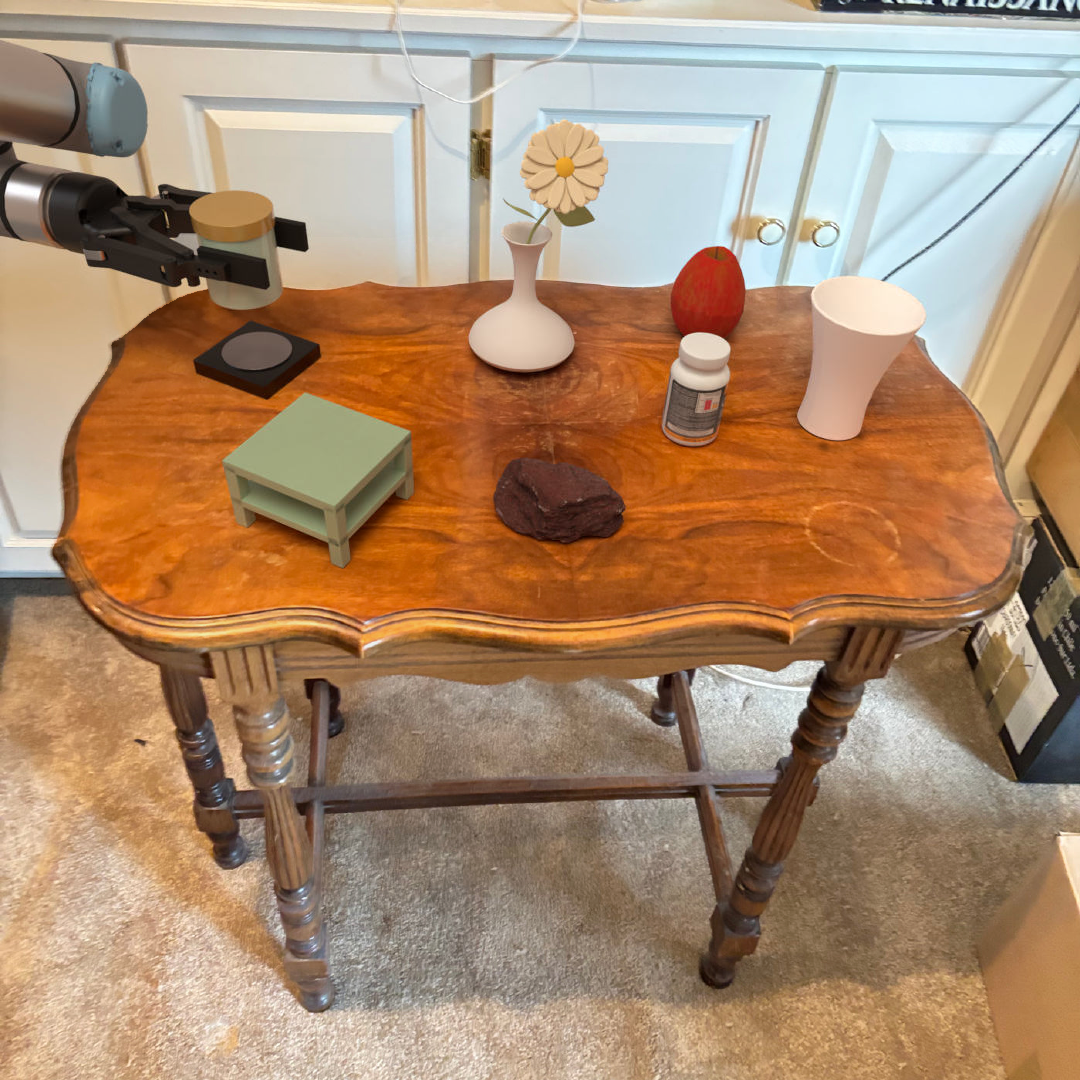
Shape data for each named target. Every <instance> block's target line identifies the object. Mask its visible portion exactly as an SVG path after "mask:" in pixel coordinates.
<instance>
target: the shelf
mask: <svg viewBox="0 0 1080 1080" xmlns="http://www.w3.org/2000/svg"><path fill="white" fill-rule="evenodd" d="M412 441H413V440H412V431H411V430H409V429H406V428H404V427H400V426H398V425H395V424H393V423H390V422H387V421H384V420H381V419H379V418H376V417H374V416H371V415H368V414H366V413H363V412H360V411H357V410H355V409H352V408H349V407H347V406H344V405H342V404H339V403H335V402H332V401H330V400H328V399H326V398H325V399H324V398H322V397H320V396H316V395H314V394H311V393H308V392H303V393H302V394H301V395H300V396H298V398H297V399H295V400H293V402H291V403H290V404H289V405H288V406H286V407H285V408H284V409H283V410H282V411H280V412H279V413H278V414H277V415H275V416H274V417H273V418H272V419H270V420H269V421H268V422H266V424H264V425H263V426H262V427H261V428H259V429H258V430H257V431H256V432H255V433H253V434H252V435H251V436H249V437H248V439H246V440H245V441H244V442H242V443H241V444H240V445H238V446H237V447H236V448H235V449H234V450H233V451H232V452H230V453H228V455H226V456H225V457H224V458H223V459H222V460H221V462H222V468H223V472H224V475H225V480H226V483H227V488H228V492H229V498H230V501H231V505H232V509H233V514H234V518H235V523H236V524H237V525H240V526H242V527H244V528H247V529H248V528H250V526H251V525H252V524H253V523H255V522H256V521H257V516H256V514H259V515H261V516H263V517H266V518H267V519H271V520H273V521H275V522H277V523H280V524H283V525H284V526H287V527H289V528H291V529H294V530H297V531H299V532H301V533H303V534H305V535H308V536H311V537H313V538H316V539H318V540H320V541H323V542H325V543H327V544H328V551H329V556H330V563H331V564H332V565H334V566H336V567H338V568H341V569H344V568H345V567H346V566H347V565H348V564H349V563H350V561H351V560H352V558H351V550H350V542H349V539H350V538H351V537H352V536H353V535H354V534H355V533H356V532H357V531H358V530H359V529H360V528H361V527H362V526H363V525H364V524H365V523H366V522H367V521H368V520H369V519H370V518H371V517H372V516H373V515H374V514H375V513H376V511H378V509H379V508H380V507H381V506H382V505H384V503H385V502H386V501H387V500H388V499H389V498H390V497H391V495H393V494H394V493H395V496H396V497H398V498H401V499H403V500H406V501H408V500H409V499H410V498H411V497H412V496H413V495H414V493H415V481H414V467H413V466H414V464H413V463H414V460H413V445H412V444H413V442H412Z"/></svg>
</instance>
